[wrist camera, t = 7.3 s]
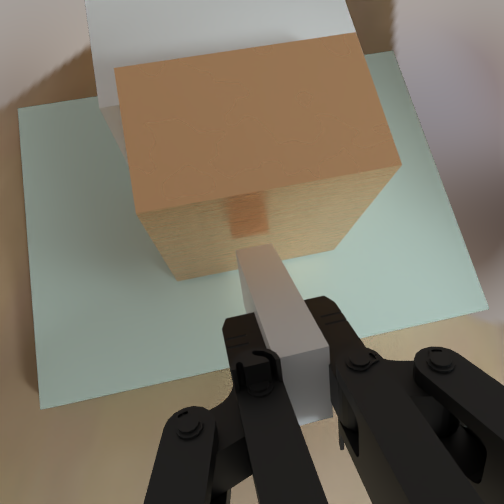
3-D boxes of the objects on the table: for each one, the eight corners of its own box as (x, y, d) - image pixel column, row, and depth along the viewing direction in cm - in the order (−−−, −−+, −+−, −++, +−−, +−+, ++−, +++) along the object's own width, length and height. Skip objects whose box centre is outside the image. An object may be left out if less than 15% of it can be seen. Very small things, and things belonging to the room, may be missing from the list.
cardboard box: (274, 39, 25) (296, -141, 16) (333, 250, 21) (402, 165, 13) (139, 59, 24) (85, -119, 15) (177, 281, 20) (135, 213, 12)
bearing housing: (384, 68, 27) (456, -79, 18) (472, 313, 22) (622, 274, 14) (30, 124, 25) (-81, -12, 16) (53, 407, 20) (-80, 431, 12)
